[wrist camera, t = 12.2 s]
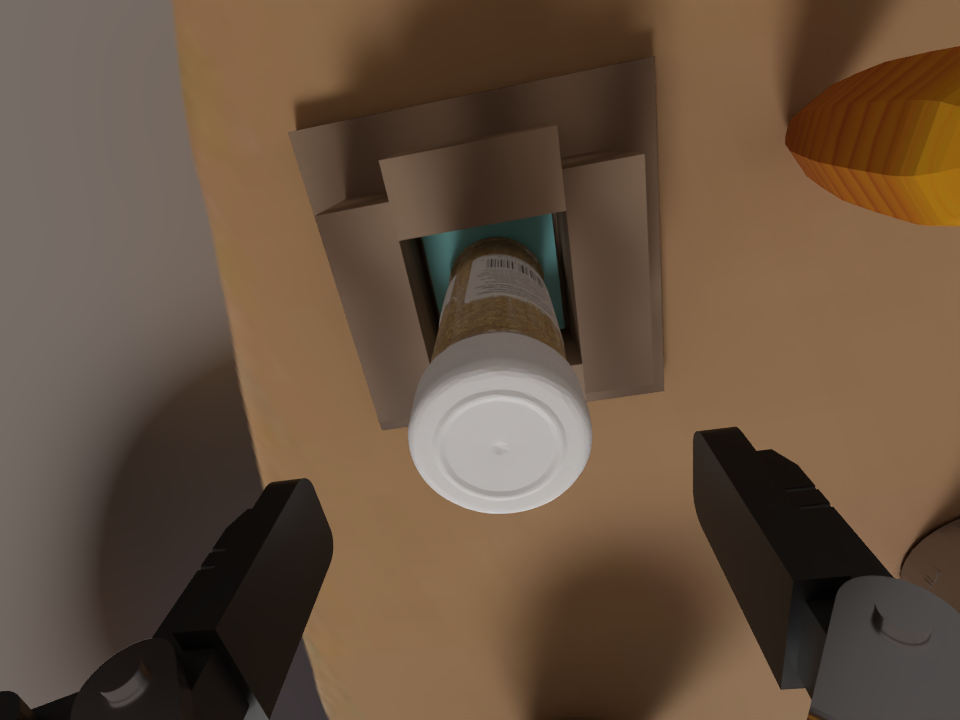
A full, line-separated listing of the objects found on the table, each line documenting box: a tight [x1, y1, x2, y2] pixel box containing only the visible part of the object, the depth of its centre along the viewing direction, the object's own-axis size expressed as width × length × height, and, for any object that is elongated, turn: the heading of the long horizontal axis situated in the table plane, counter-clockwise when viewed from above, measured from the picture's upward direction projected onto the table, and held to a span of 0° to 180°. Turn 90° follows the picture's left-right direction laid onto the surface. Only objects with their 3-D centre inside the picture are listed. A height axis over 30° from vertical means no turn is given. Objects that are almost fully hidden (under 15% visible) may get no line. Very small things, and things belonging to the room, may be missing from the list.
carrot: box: [785, 46, 960, 226], centre depth 16 cm, size 5×5×15 cm
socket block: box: [288, 56, 664, 430], centre depth 23 cm, size 16×16×6 cm
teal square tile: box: [422, 214, 565, 329], centre depth 25 cm, size 6×6×1 cm
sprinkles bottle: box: [408, 237, 592, 514], centre depth 18 cm, size 5×5×14 cm
